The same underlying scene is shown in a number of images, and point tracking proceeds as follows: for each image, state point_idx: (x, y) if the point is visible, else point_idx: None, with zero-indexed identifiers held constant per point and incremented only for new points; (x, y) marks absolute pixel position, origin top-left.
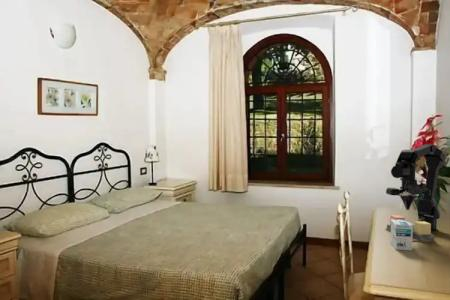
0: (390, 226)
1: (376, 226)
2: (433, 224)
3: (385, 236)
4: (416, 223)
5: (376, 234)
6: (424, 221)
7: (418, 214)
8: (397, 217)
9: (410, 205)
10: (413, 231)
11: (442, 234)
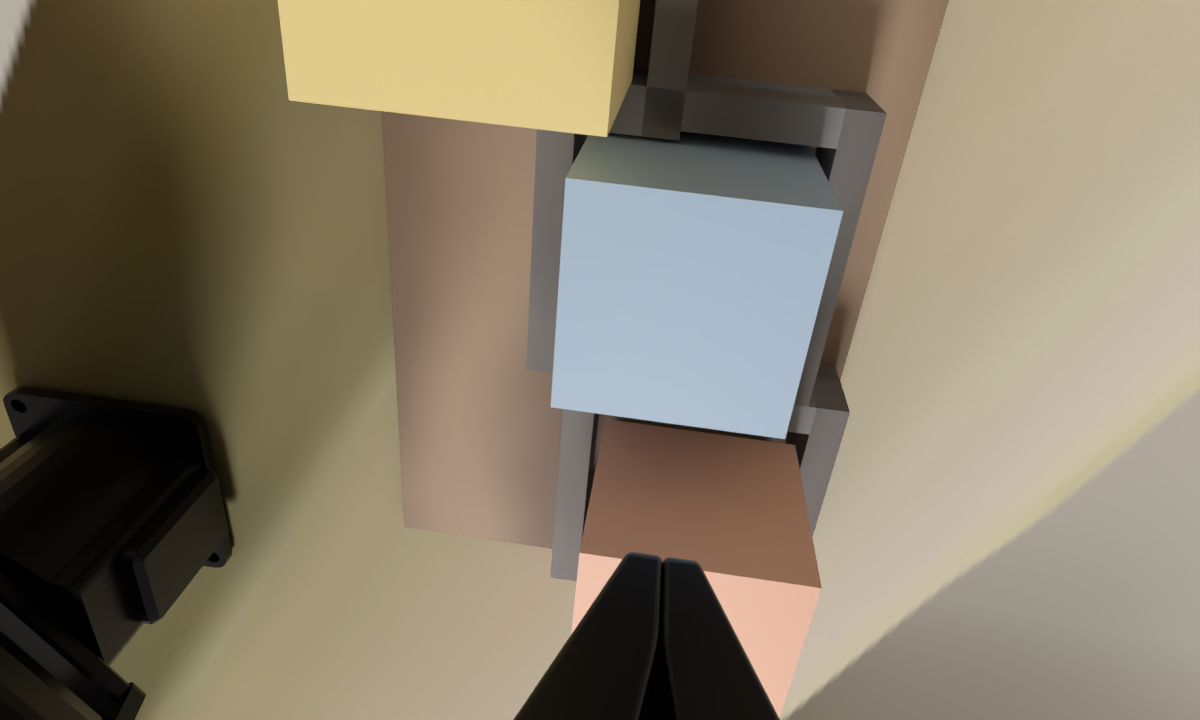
0: (816, 518)
1: (787, 703)
2: (14, 462)
3: (1120, 243)
4: (622, 15)
5: (1168, 381)
6: (298, 100)
7: (129, 715)
8: (760, 585)
9: (561, 674)
10: (623, 124)
11: (16, 205)
